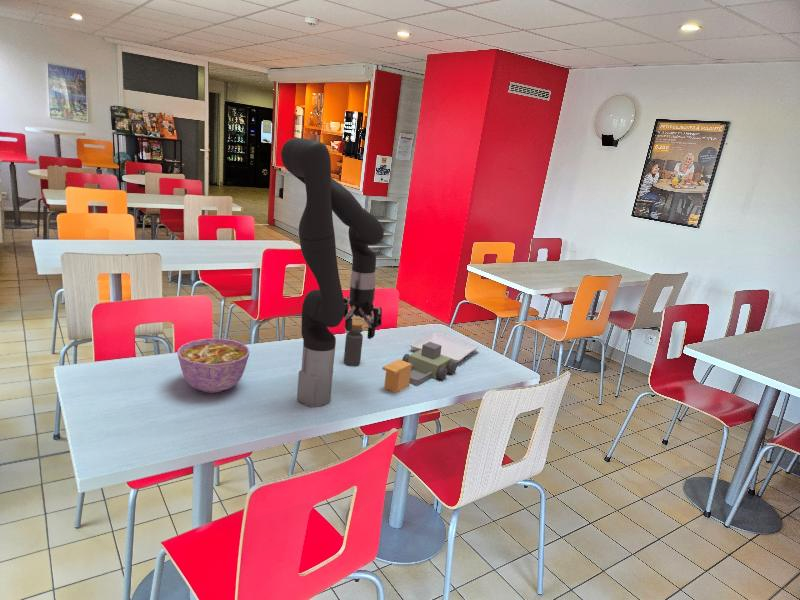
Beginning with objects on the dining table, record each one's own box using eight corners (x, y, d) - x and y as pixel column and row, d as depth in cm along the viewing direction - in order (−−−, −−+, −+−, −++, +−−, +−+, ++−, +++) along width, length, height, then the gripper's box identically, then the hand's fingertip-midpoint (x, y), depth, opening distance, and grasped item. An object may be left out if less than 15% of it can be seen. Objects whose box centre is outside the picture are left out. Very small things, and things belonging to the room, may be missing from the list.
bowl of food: (239, 369, 172) (240, 336, 169) (255, 397, 155) (257, 360, 152) (172, 376, 162) (172, 340, 159) (182, 406, 145) (182, 367, 142)
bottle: (352, 367, 184) (356, 326, 180) (340, 362, 188) (343, 322, 183) (363, 363, 189) (367, 323, 185) (351, 358, 192) (355, 319, 188)
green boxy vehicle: (426, 389, 174) (430, 364, 172) (386, 374, 182) (389, 349, 180) (455, 372, 191) (459, 349, 189) (417, 358, 199) (420, 336, 197)
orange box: (392, 395, 168) (395, 371, 165) (379, 389, 170) (382, 366, 168) (408, 386, 175) (411, 363, 173) (396, 381, 178) (399, 359, 176)
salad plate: (457, 368, 196) (459, 359, 195) (407, 352, 206) (408, 343, 205) (478, 353, 214) (480, 345, 213) (432, 338, 224) (433, 331, 223)
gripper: (336, 281, 161) (334, 331, 166) (374, 293, 154) (370, 344, 159) (351, 277, 167) (349, 324, 172) (389, 287, 160) (385, 337, 165)
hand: (359, 334), depth 166 cm, fingers open, 8 cm apart
